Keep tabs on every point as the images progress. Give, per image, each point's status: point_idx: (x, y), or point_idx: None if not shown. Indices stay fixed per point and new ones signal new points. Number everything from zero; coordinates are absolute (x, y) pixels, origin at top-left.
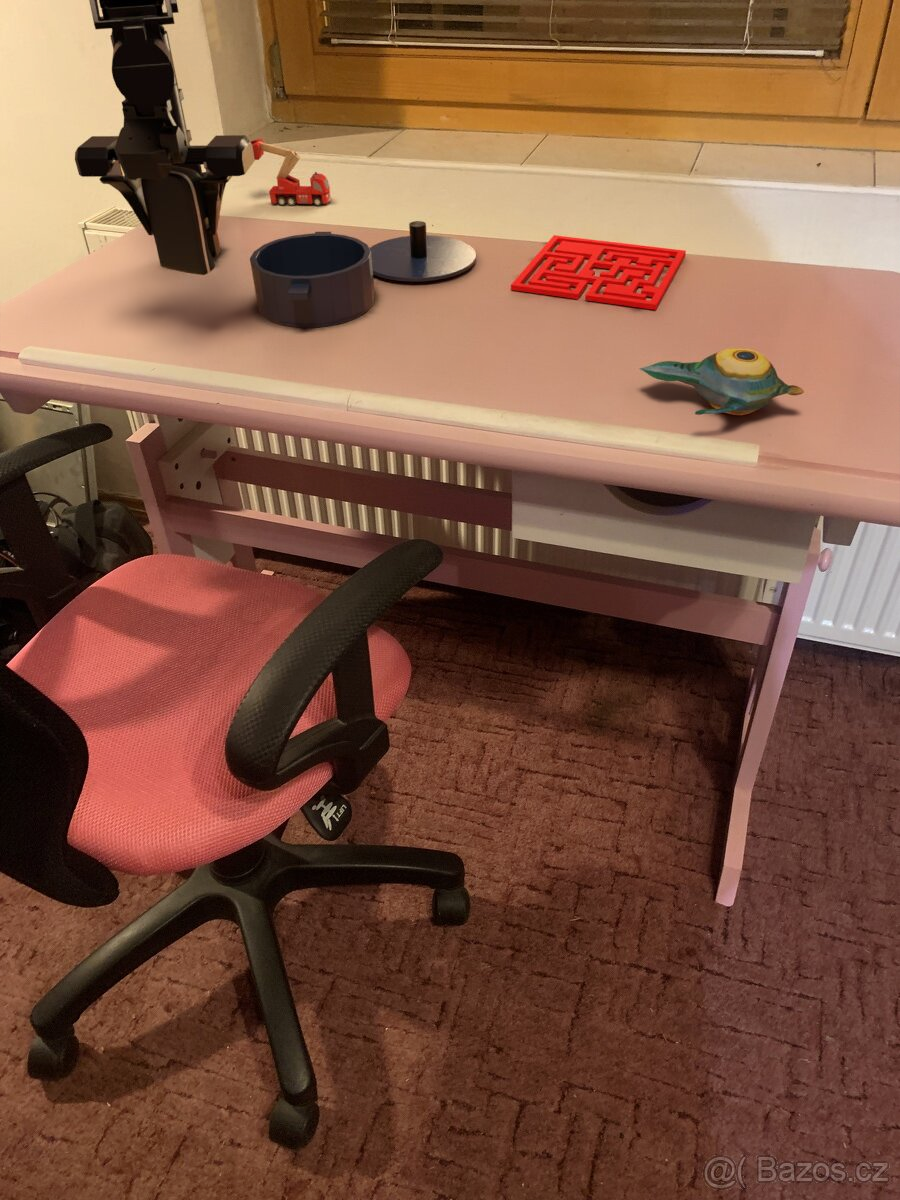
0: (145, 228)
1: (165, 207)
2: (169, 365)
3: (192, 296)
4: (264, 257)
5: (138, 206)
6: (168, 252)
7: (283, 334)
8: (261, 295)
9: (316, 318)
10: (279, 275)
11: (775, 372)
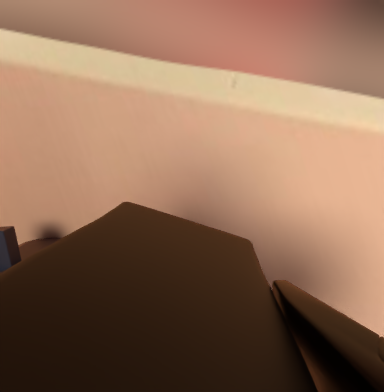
0: (296, 288)
1: (171, 331)
2: (213, 99)
3: None
4: None
5: (344, 344)
6: (216, 243)
7: (74, 216)
8: None
9: (23, 244)
10: None
11: None
